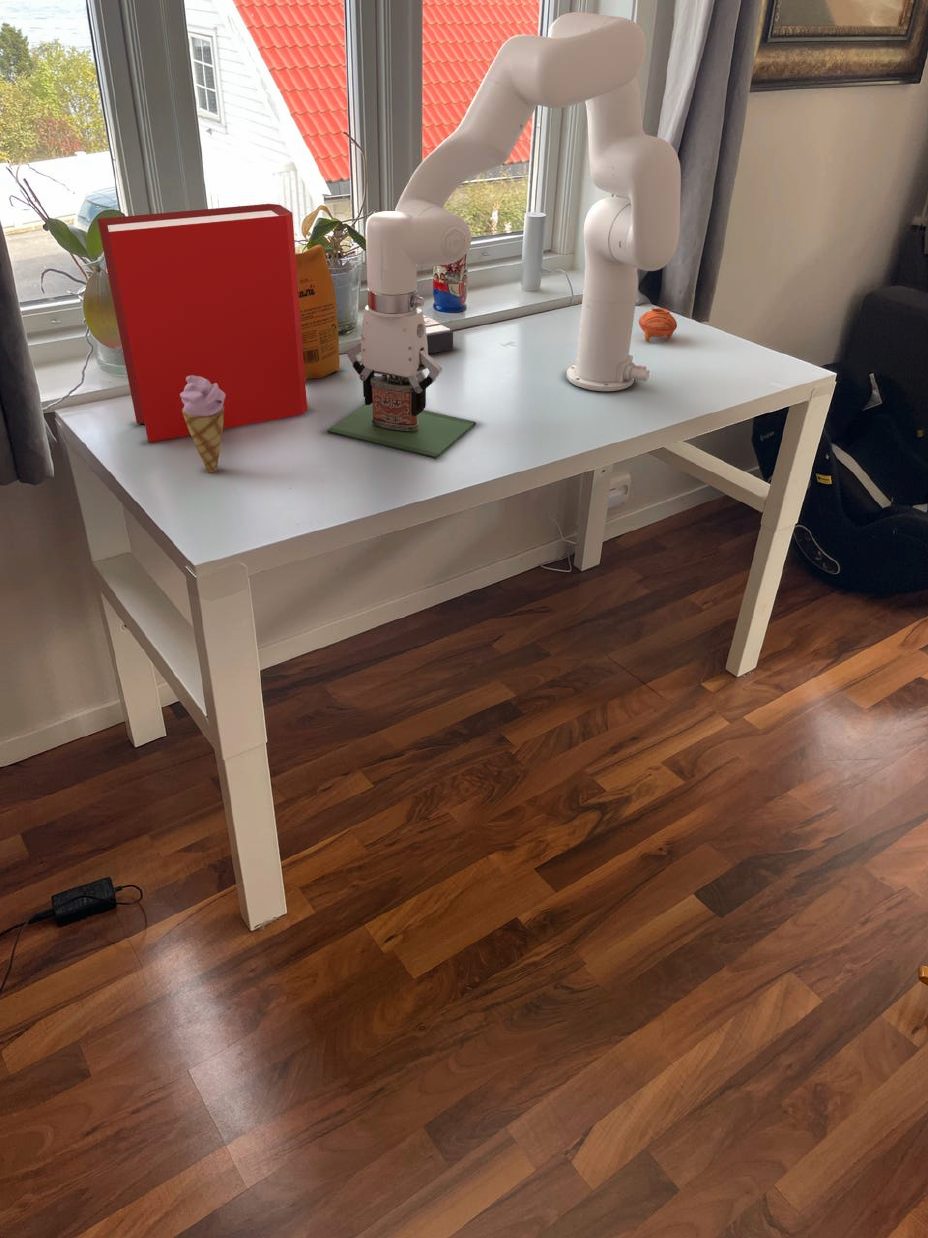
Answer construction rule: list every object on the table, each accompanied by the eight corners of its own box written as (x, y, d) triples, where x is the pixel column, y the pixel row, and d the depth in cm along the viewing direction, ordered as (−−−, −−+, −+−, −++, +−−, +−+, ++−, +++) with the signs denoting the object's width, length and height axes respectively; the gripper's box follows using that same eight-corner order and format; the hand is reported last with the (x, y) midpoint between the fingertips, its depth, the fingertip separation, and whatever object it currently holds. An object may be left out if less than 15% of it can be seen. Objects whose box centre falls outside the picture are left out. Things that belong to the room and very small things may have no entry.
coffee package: (261, 370, 175) (248, 248, 162) (318, 356, 182) (310, 237, 169) (289, 387, 169) (278, 261, 156) (346, 372, 176) (341, 250, 163)
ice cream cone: (195, 460, 145) (181, 366, 136) (236, 459, 145) (224, 366, 137) (189, 480, 140) (173, 383, 131) (231, 479, 140) (218, 383, 131)
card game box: (418, 309, 195) (454, 327, 184) (419, 329, 197) (454, 349, 187) (370, 316, 190) (404, 335, 180) (371, 337, 193) (404, 357, 182)
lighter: (421, 424, 156) (421, 366, 150) (413, 432, 153) (413, 373, 147) (376, 416, 158) (375, 359, 152) (368, 424, 155) (366, 366, 149)
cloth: (475, 423, 158) (476, 421, 158) (435, 458, 147) (435, 456, 147) (373, 400, 165) (373, 398, 165) (327, 432, 154) (327, 430, 154)
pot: (627, 332, 197) (637, 300, 193) (658, 338, 200) (669, 307, 196) (644, 344, 190) (655, 311, 187) (676, 350, 193) (688, 317, 190)
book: (148, 442, 149) (108, 231, 131) (136, 423, 155) (97, 218, 136) (310, 413, 160) (295, 214, 141) (293, 396, 166) (277, 202, 147)
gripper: (454, 302, 143) (452, 409, 154) (356, 284, 149) (360, 389, 159) (431, 316, 138) (431, 426, 148) (330, 297, 144) (336, 405, 154)
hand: (394, 406), depth 154 cm, fingers closed on lighter, 8 cm apart
